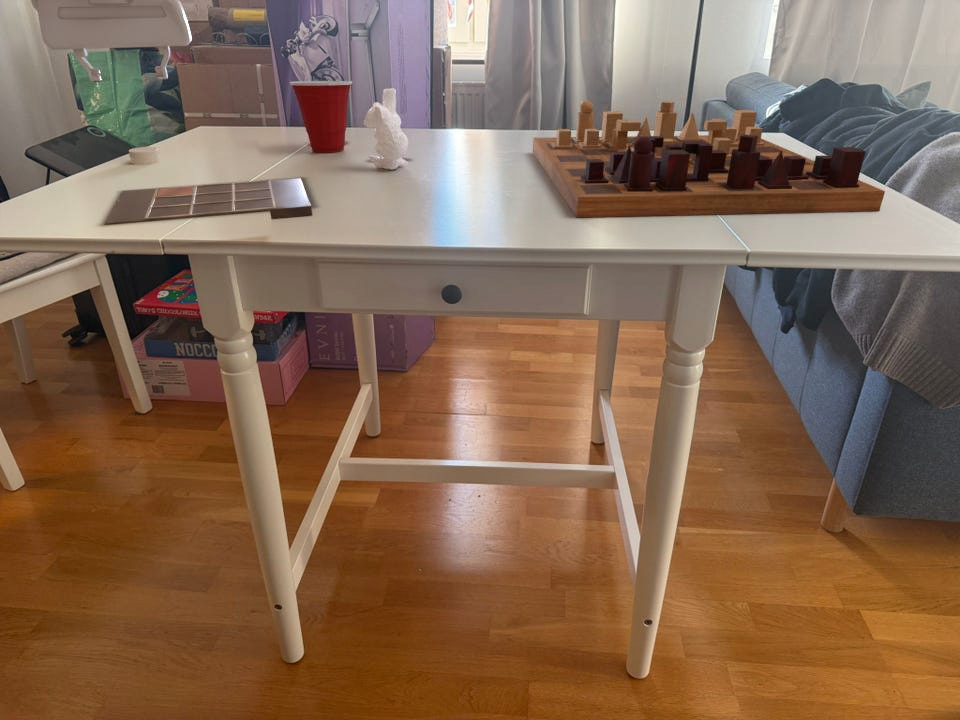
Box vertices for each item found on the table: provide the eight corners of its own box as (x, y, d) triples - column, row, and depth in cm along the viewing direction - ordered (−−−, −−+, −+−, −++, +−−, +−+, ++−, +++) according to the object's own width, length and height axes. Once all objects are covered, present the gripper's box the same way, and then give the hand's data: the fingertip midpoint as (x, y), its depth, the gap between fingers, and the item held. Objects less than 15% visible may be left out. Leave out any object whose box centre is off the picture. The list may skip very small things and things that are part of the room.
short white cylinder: (131, 172, 108) (126, 152, 106) (134, 166, 111) (130, 147, 110) (161, 170, 109) (156, 151, 108) (163, 164, 113) (159, 146, 111)
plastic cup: (361, 143, 128) (355, 75, 123) (354, 155, 119) (348, 82, 113) (303, 144, 128) (295, 76, 122) (292, 156, 118) (283, 82, 113)
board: (106, 233, 80) (103, 222, 79) (124, 199, 93) (122, 190, 93) (312, 215, 86) (311, 205, 86) (301, 186, 100) (300, 177, 99)
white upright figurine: (380, 160, 115) (375, 85, 109) (418, 162, 113) (414, 86, 108) (361, 172, 108) (354, 91, 102) (401, 174, 106) (396, 93, 100)
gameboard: (749, 149, 123) (759, 96, 118) (879, 210, 88) (900, 138, 83) (532, 152, 120) (534, 98, 116) (576, 217, 85) (581, 142, 81)
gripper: (18, -23, 92) (50, 85, 99) (178, -24, 98) (198, 79, 104) (30, -22, 97) (59, 81, 104) (181, -23, 103) (199, 75, 109)
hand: (130, 80), depth 104 cm, fingers open, 8 cm apart
